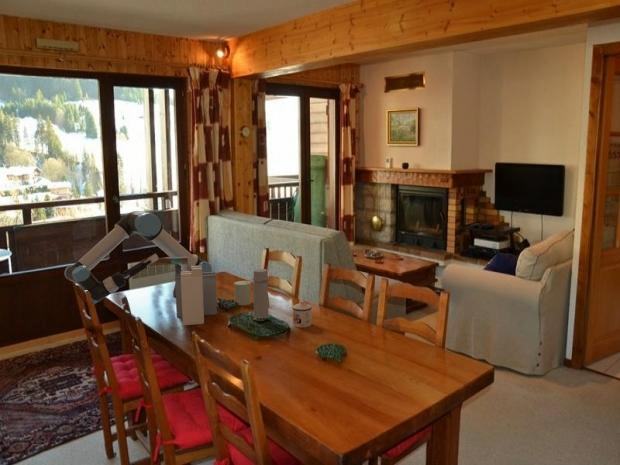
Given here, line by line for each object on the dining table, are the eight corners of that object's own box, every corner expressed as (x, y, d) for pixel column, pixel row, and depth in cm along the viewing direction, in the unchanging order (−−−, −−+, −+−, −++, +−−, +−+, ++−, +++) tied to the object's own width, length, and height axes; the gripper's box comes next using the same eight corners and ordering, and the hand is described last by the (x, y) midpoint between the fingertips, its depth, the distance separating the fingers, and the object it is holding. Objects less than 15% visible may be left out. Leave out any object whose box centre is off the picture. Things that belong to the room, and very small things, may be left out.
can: (250, 305, 289) (249, 283, 287) (233, 305, 289) (232, 283, 287) (252, 300, 298) (251, 279, 296) (235, 301, 298) (235, 279, 296)
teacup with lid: (288, 324, 257) (288, 300, 255) (304, 320, 262) (304, 297, 260) (303, 330, 247) (303, 306, 245) (319, 327, 252) (319, 303, 251)
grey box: (176, 313, 276) (175, 274, 273) (216, 310, 280) (214, 272, 277) (176, 317, 269) (174, 277, 266) (217, 314, 274) (215, 274, 271)
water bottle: (262, 323, 258) (261, 272, 254) (250, 320, 263) (249, 270, 259) (274, 318, 265) (273, 269, 262) (262, 316, 270) (261, 267, 266)
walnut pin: (142, 265, 266) (142, 259, 266) (187, 262, 271) (187, 256, 271) (142, 266, 263) (141, 260, 263) (187, 263, 268) (187, 257, 268)
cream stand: (182, 319, 266) (180, 266, 262) (203, 317, 268) (201, 265, 264) (182, 325, 256) (180, 270, 252) (204, 323, 259) (202, 269, 255)
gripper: (121, 284, 271) (161, 259, 274) (117, 292, 256) (160, 265, 259) (112, 272, 270) (153, 247, 273) (108, 279, 254) (151, 253, 257)
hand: (156, 256), depth 266 cm, fingers closed on walnut pin, 3 cm apart
